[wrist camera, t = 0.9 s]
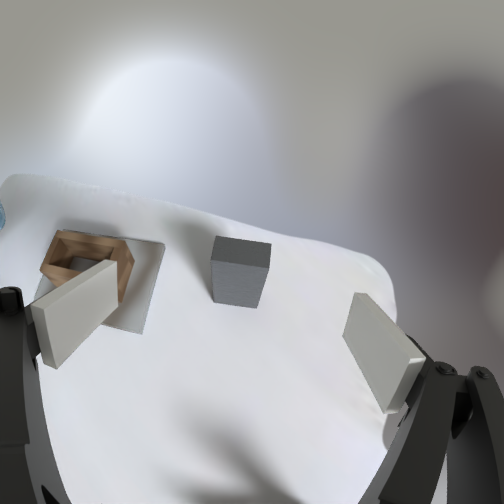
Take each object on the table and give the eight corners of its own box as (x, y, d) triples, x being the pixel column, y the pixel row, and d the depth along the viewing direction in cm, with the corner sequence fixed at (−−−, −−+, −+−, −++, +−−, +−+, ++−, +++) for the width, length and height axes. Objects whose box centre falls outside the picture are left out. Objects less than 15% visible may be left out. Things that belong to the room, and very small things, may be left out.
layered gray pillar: (213, 302, 39) (210, 259, 29) (217, 283, 41) (215, 235, 30) (256, 308, 39) (269, 268, 29) (258, 289, 41) (271, 243, 31)
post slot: (36, 304, 35) (14, 286, 29) (65, 232, 42) (50, 209, 37) (142, 334, 35) (127, 320, 30) (165, 247, 43) (158, 222, 37)
